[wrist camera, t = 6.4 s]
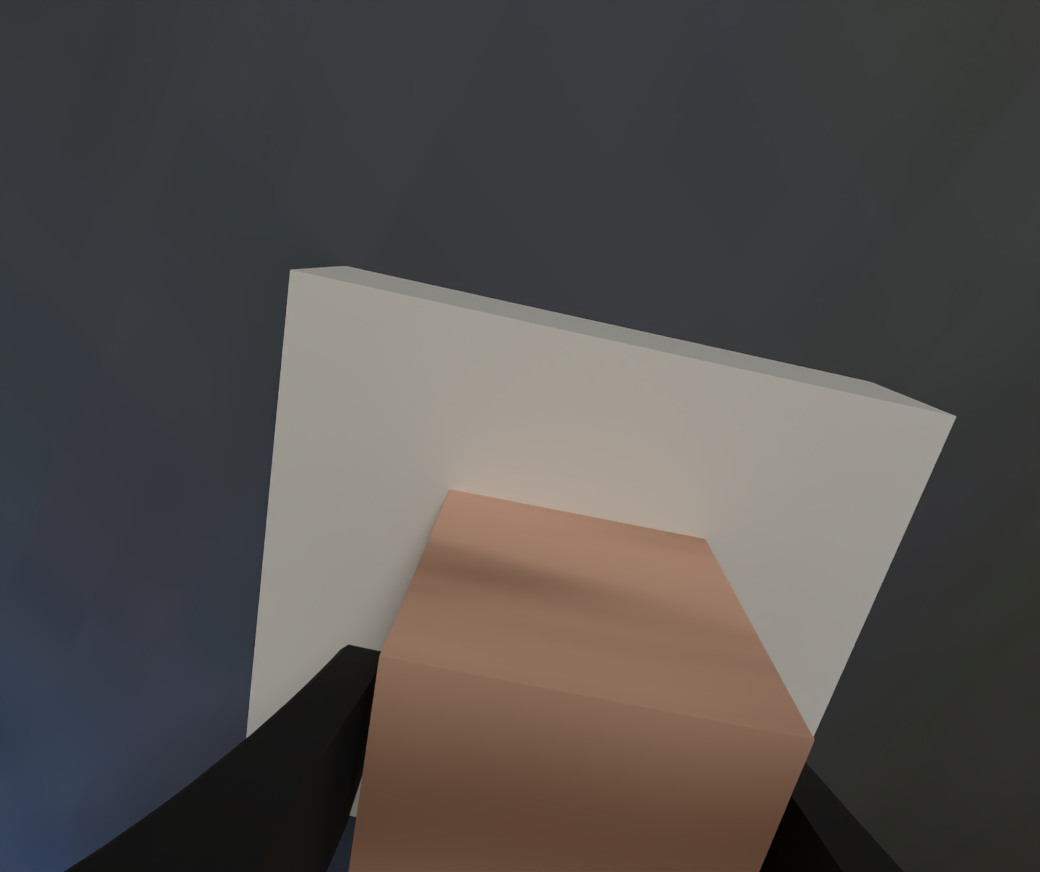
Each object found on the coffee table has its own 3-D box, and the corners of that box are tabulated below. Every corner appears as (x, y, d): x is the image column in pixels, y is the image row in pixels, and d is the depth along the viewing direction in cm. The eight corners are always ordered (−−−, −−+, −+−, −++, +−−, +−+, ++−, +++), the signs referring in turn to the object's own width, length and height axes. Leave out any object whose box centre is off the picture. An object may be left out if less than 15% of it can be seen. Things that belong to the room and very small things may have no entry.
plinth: (709, 787, 17) (742, 896, 14) (293, 701, 17) (241, 793, 14) (870, 381, 14) (956, 416, 11) (346, 265, 13) (290, 269, 10)
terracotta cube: (641, 743, 13) (693, 1026, 8) (414, 700, 13) (336, 959, 8) (705, 538, 12) (814, 739, 7) (450, 489, 12) (379, 656, 7)
